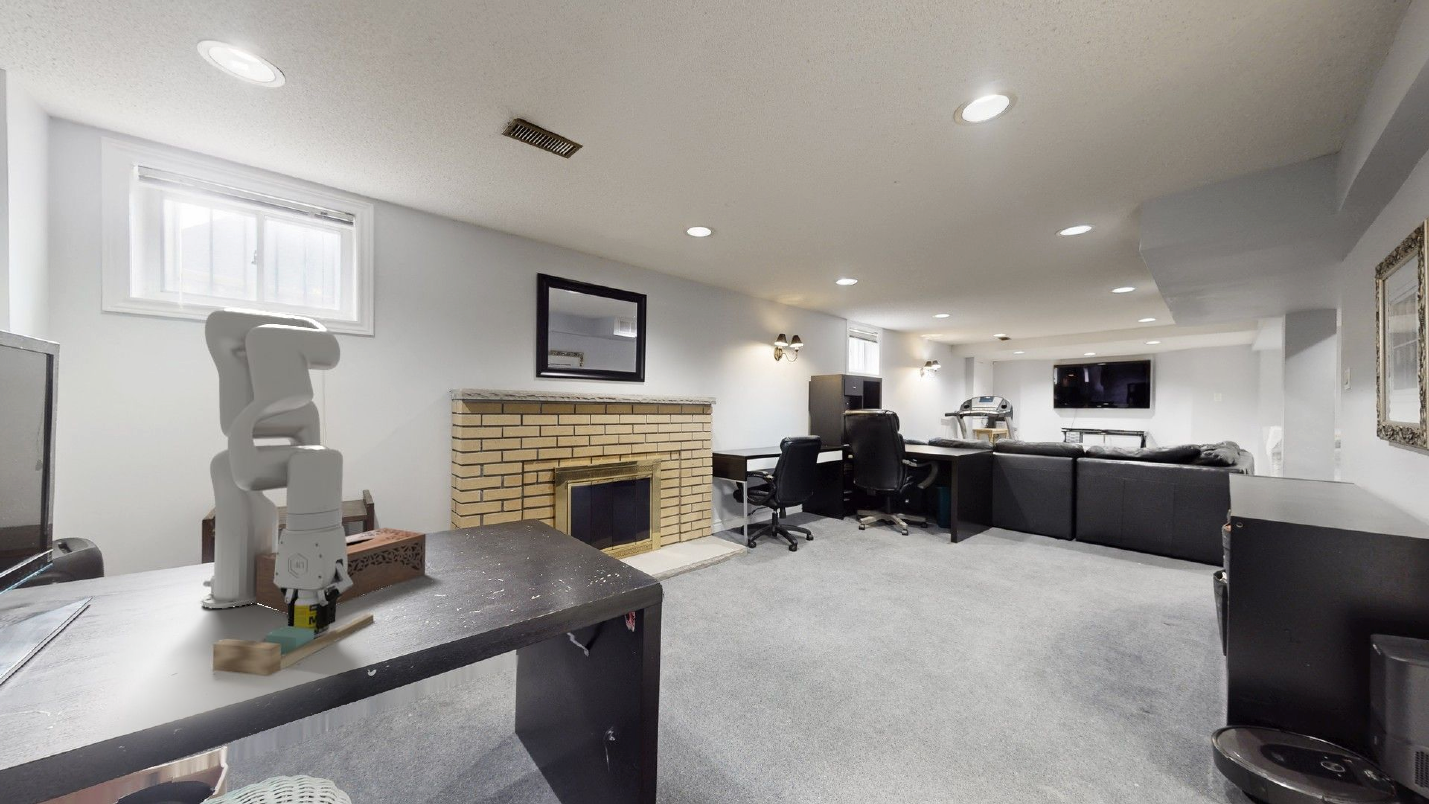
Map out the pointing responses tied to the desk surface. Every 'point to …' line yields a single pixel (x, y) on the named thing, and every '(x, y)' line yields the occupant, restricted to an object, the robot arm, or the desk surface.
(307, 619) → the supplement bottle
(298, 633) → the block
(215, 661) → the track
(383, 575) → the tissue box cover
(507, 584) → the desk surface
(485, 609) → the desk surface
